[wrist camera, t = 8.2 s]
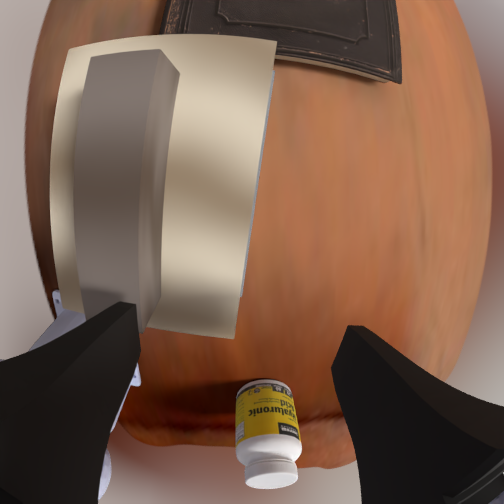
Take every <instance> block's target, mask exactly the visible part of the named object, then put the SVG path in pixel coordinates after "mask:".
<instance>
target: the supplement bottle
mask: <svg viewBox="0 0 504 504" xmlns="http://www.w3.org/2000/svg"><path fill="white" fill-rule="evenodd" d="M301 451H302V445H301V439H300V434H299V428H298V423H297V418H296V412H295V407H294V402H293V396H292V393H291V390H290V389H289V387H288V386H287V385H285V384H284V383H282V382H279V381H276V380H269V379H264V380H256V381H253V382H250V383H248V384H246V385H244V386H243V387H242V388H241V389H240V390H239V392H238V393H237V397H236V456H237V459H238V460H239V461H240V462H241V463H242V464H243V465H245V466H246V467H245V483H246V484H247V485H248V486H250V487H253V488H259V489H274V488H281V487H285V486H288V485H291V484H293V483H294V482H296V481H297V479H298V474H297V467H296V464H295V462H294V461H295V460H297V458H298V457H299V456H300V454H301Z"/></svg>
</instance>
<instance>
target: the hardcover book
mask: <svg viewBox="0 0 504 504" xmlns="http://www.w3.org/2000/svg"><path fill="white" fill-rule="evenodd" d="M168 34H211V35H228V36H240V37H249V38H257V39H265V40H271V41H277V46H276V52H275V59H281V60H289V61H296V62H302V63H308V64H313V65H318V66H323V67H328V68H333V69H337V70H341V71H345V72H349V73H353V74H357V75H361V76H364V77H368V78H371V79H374V80H377V81H381V82H384V83H387V82H389V81H392V82H395V83H398V84H402V64H401V45H400V33H399V23H398V15H397V7H396V1H395V0H167V2H166V6H165V10H164V14H163V19H162V23H161V28H160V33H159V35H168Z"/></svg>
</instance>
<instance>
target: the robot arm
mask: <svg viewBox="0 0 504 504" xmlns="http://www.w3.org/2000/svg"><path fill="white" fill-rule="evenodd" d="M52 295H53V300H54V305H55V309H56V313H57V318H56V319H55V321H54V322H53V323H52V324H51V325H50V326H49V327H48V328H47V330H46V331H45V332H44V333H43V334H42V335H41V336H40V338H39V339H38V340H37V341H36V342H35V344H34V345H33V346H32V347H31V349H30V350H29V351H28V352H26V353H24V354H21V355H19V356H16V357H13V358H10V359H7V360H2V359H0V504H98V500H99V499H100V498H101V497H102V496H103V494H104V492H105V491H106V489H107V487H108V484H109V481H110V477H111V460H110V455H109V452H108V450H107V444H108V439H109V435H110V433H111V432H112V430H113V429H114V427H115V425H116V422H117V419H118V416H119V414H120V411H121V408H122V405H123V403H124V400H125V398H126V395H127V392H128V390H129V387H130V385H134V386H140V384H141V379H140V374H139V368H138V359H139V356H140V352H141V347H140V339H139V330H138V320H137V308H136V304H133V303H127V302H122V301H119V302H117V303H115V304H113V305H112V306H110V307H108V308H107V309H105V310H103V311H102V312H100V313H99V314H97V315H95V316H94V317H92V318H90V319H89V320H87V321H86V318H85V314H83V313H79V312H75V311H71V310H68V309H64V308H63V307H62V302H61V297H60V292H59V290H55V291H53V293H52ZM58 300H59V301H58ZM331 370H332V376H333V382H334V386H335V391H336V394H337V397H338V400H339V403H340V406H341V409H342V412H343V415H344V418H345V420H346V423H347V426H348V429H349V432H350V435H351V438H352V441H353V445H354V449H355V453H356V459H357V464H358V470H359V478H360V485H361V497H362V504H504V474H503V472H504V407H503V406H499V405H496V404H493V403H489V402H486V401H484V400H480V399H478V398H476V397H473V396H471V395H468V394H466V393H464V392H462V391H460V390H457V389H456V388H454V387H451V386H450V385H448V384H446V383H445V382H443V381H441V380H439V379H438V378H436V377H434V376H433V375H431V374H430V373H428V372H427V371H425V370H424V369H422V368H421V367H419V366H418V365H416V364H415V363H413V362H412V361H411V360H409V359H408V358H407V357H405V356H404V355H403V354H401V353H400V352H399V351H397V350H396V349H395V348H393V347H392V346H391V345H389V344H388V343H387V342H385V341H384V340H383V339H381V338H380V337H379V336H377V335H376V334H375V333H373V332H372V331H370V330H369V329H367V328H366V327H364V326H353V325H348V326H347V329H346V332H345V334H344V337H343V340H342V342H341V345H340V347H339V350H338V352H337V355H336V357H335V360H334V362H333V364H332V367H331Z"/></svg>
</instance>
